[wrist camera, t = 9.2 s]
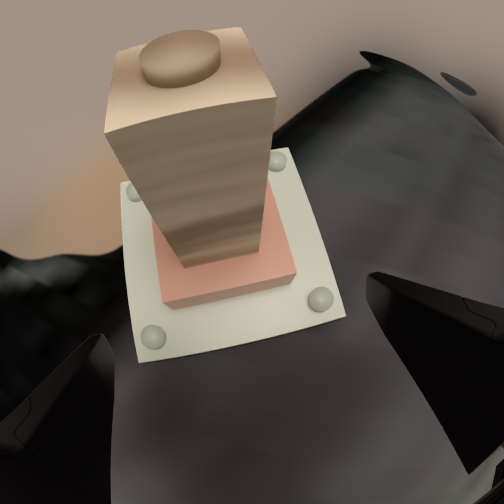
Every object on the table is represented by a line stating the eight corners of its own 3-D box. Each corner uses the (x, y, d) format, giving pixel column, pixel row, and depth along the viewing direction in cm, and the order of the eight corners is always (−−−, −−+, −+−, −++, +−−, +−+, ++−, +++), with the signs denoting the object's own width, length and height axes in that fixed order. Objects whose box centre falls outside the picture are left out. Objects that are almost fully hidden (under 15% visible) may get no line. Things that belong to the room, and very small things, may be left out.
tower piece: (258, 252, 20) (278, 75, 7) (184, 268, 19) (94, 114, 6) (242, 189, 21) (240, 11, 8) (175, 203, 21) (112, 36, 8)
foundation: (342, 317, 22) (360, 309, 19) (143, 362, 21) (123, 363, 17) (286, 153, 28) (291, 126, 24) (124, 188, 26) (109, 164, 22)
